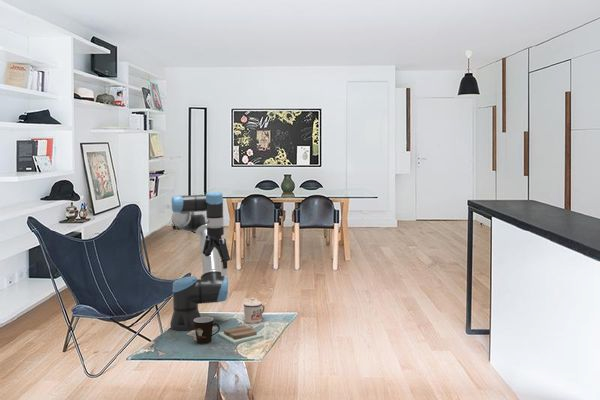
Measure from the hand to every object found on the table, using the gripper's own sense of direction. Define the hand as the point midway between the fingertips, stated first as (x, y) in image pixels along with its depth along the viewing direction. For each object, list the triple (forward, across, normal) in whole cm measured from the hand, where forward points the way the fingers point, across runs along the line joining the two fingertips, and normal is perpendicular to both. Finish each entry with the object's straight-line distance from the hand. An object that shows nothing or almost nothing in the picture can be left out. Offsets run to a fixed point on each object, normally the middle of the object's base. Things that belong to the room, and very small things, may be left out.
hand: (216, 272), depth 267 cm
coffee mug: (+29, +7, -10) cm, 31 cm away
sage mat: (+29, +10, +6) cm, 31 cm away
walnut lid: (+28, +10, +6) cm, 30 cm away
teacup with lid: (+30, -6, +25) cm, 39 cm away
